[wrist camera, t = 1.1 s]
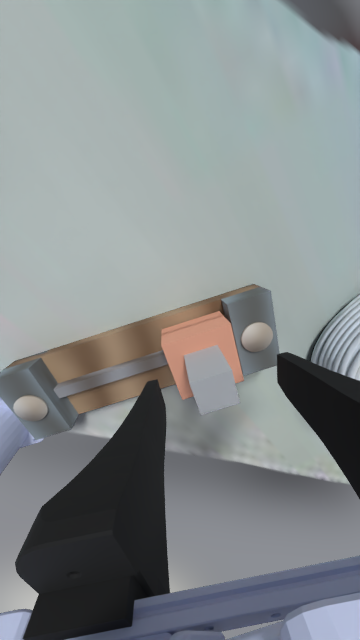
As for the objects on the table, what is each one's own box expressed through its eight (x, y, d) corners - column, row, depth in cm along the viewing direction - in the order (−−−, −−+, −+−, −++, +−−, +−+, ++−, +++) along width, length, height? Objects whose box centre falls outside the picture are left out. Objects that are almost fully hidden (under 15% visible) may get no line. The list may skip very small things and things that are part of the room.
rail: (53, 414, 24) (34, 442, 20) (14, 361, 21) (-16, 383, 18) (264, 347, 23) (282, 365, 20) (253, 284, 20) (272, 291, 17)
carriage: (179, 376, 21) (187, 435, 15) (161, 329, 19) (160, 372, 13) (231, 360, 21) (263, 412, 15) (219, 310, 19) (249, 344, 12)
